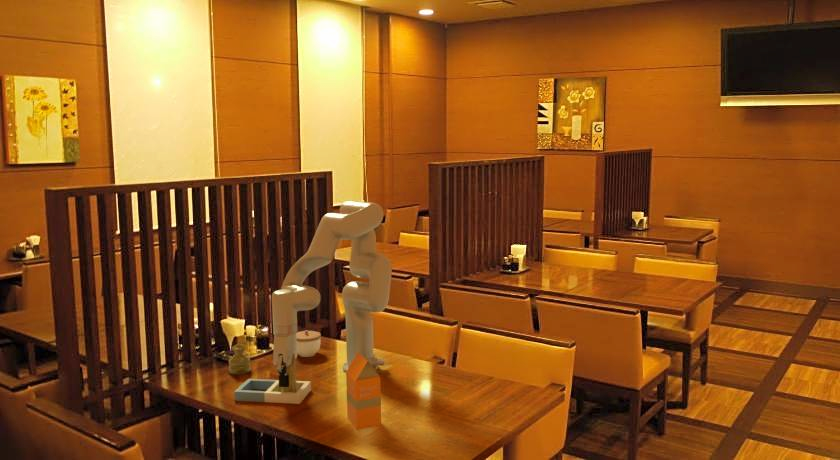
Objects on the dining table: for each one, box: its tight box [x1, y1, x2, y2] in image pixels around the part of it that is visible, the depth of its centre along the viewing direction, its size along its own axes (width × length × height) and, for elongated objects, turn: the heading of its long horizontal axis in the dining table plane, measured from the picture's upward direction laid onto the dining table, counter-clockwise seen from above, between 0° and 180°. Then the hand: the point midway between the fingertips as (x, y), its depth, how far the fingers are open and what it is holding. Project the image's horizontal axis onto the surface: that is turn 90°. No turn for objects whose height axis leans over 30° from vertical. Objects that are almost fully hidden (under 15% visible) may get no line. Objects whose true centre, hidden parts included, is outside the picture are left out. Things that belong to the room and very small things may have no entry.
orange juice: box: [345, 353, 382, 430], centre depth 205 cm, size 8×9×20 cm
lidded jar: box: [296, 329, 322, 358], centre depth 267 cm, size 11×11×9 cm
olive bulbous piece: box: [228, 343, 251, 376], centre depth 249 cm, size 7×7×10 cm
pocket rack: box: [233, 378, 312, 405], centre depth 227 cm, size 22×12×3 cm, turn 81°
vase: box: [279, 353, 297, 393], centre depth 225 cm, size 6×6×14 cm
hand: (287, 382), depth 226 cm, fingers closed on vase, 5 cm apart
